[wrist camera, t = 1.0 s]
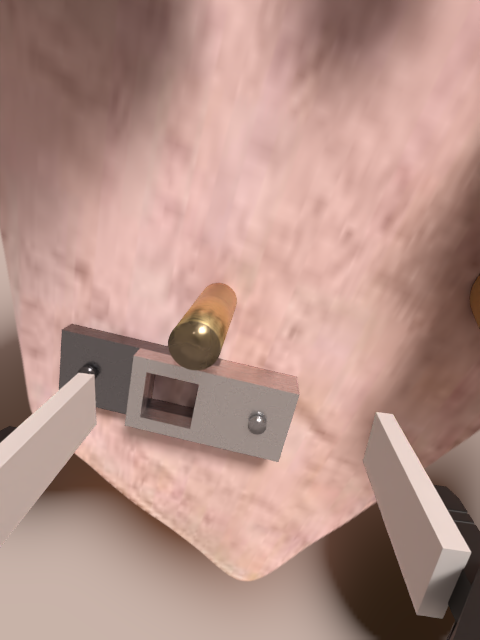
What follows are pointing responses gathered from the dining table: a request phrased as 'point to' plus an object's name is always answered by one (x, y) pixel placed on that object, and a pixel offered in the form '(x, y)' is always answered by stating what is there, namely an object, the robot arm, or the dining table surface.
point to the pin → (203, 328)
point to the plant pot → (476, 300)
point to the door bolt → (214, 382)
